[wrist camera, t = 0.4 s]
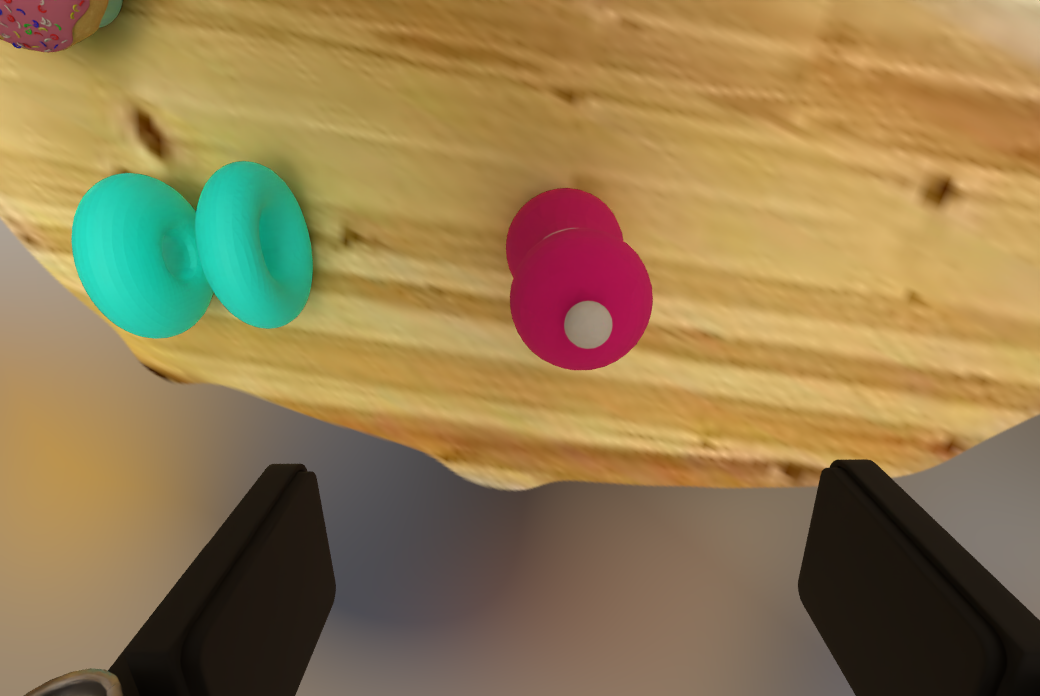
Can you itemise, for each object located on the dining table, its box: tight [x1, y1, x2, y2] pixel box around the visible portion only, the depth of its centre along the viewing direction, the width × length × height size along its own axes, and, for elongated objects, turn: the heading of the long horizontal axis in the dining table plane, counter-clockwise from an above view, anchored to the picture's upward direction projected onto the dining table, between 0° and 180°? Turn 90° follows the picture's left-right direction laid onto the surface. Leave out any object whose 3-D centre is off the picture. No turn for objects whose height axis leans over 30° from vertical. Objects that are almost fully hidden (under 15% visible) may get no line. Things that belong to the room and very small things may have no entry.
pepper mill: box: [506, 188, 653, 370], centre depth 29 cm, size 7×7×20 cm
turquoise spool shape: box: [72, 161, 313, 338], centre depth 34 cm, size 10×10×10 cm
